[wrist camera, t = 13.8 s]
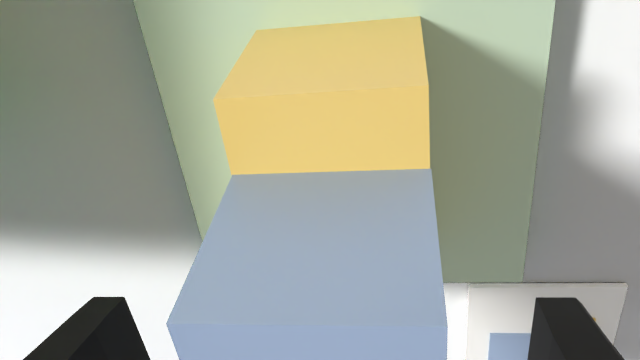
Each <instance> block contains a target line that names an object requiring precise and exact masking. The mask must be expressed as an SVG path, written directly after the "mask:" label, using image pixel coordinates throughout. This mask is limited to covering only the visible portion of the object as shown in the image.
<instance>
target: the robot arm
mask: <svg viewBox="0 0 640 360" xmlns="http://www.w3.org/2000/svg"><path fill="white" fill-rule="evenodd" d="M23 360H150V358H149V356H148V353H147V351H146V348H145V346H144V343H143V341H142V339H141V336H140V334H139V331H138V329H137V327H136V324H135V322H134V319H133V317H132V314H131V312H130V310H129V307H128V305H127V302H126V300H125V298H124V297H93V298H92V299H91V300H90V301H88V302H87V303H86V304H85V305H84V306H82V307H81V308H80V309H79V310H78V311H77V312H75V313H74V314H73V315H72V316H71V317H70V318H69V319H68V320H66V321H65V322H64V323H63V324H62V325H61V326H60V327H59V328H58V329H56V330H55V331H54V332H53V333H52V334H51V335H50V336H49V337H48V338H47V339H45V340H44V341H43V342H42V343H41V344H40V345H39V346H38V347H37V348H36V349H34V350H33V351H32V352H31V353H30V354H29V355H28V356H27V357H25V358H24V359H23ZM527 360H624V359H623V357H622V356H621V355H620V353H619V352H618V351H617V350H616V348H615V347H614V346H613V344H612V343H611V342H610V341H609V339H608V338H607V337H606V335H605V334H604V333H603V331H602V330H601V329H600V327H599V326H598V325H597V323H596V322H595V321H594V319H593V318H592V317H591V315H590V314H589V313H588V311H587V310H586V308H585V307H584V306H583V304H582V303H581V302H580V301H579V300H578V299H577V298H575V297H536V301H535V308H534V315H533V322H532V330H531V337H530V344H529V351H528V359H527Z"/></svg>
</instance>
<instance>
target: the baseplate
mask: <svg viewBox="0 0 640 360" xmlns="http://www.w3.org/2000/svg"><path fill="white" fill-rule="evenodd" d="M555 1H556V0H133V3H134V6H135V10H136V13H137V16H138V20H139V23H140V27H141V30H142V34H143V37H144V41H145V44H146V48H147V51H148V55H149V58H150V62H151V65H152V69H153V72H154V76H155V79H156V82H157V86H158V89H159V93H160V96H161V100H162V103H163V107H164V110H165V114H166V117H167V121H168V124H169V128H170V131H171V135H172V138H173V142H174V145H175V148H176V152H177V155H178V159H179V162H180V166H181V169H182V173H183V176H184V180H185V183H186V187H187V190H188V194H189V197H190V201H191V204H192V208H193V211H194V214H195V218H196V221H197V225H198V228H199V232H200V235H201V239H202V242H203V240H204V238H205V235H206V233H207V231H208V229H209V226H210V224H211V222H212V220H213V217H214V215H215V213H216V211H217V208H218V206H219V204H220V202H221V199H222V197H223V195H224V193H225V190H226V188H227V186H228V184H229V181H230V179H231V177H232V175H231V171H230V167H229V163H228V159H227V155H226V151H225V147H224V143H223V139H222V135H221V130H220V126H219V122H218V118H217V114H216V110H215V106H214V102H213V99H214V97H215V95H216V94H217V92H218V91H219V89H220V87H221V86H222V84H223V83H224V81H225V79H226V78H227V76H228V75H229V73H230V71H231V70H232V68H233V67H234V65H235V63H236V62H237V60H238V59H239V57H240V55H241V54H242V52H243V51H244V49H245V47H246V46H247V44H248V43H249V41H250V39H251V38H252V36H253V35H254V33H255V31H256V30H263V29H275V28H286V27H298V26H310V25H322V24H333V23H345V22H357V21H369V20H381V19H392V18H404V17H416V16H420V19H421V27H422V35H423V43H424V51H425V59H426V67H427V75H428V84H429V133H430V169H431V171H432V181H433V190H434V200H435V210H436V220H437V230H438V239H439V249H440V259H441V269H442V278H443V283H481V282H523V274H524V266H525V257H526V249H527V240H528V232H529V223H530V214H531V206H532V197H533V189H534V180H535V172H536V163H537V155H538V146H539V138H540V129H541V121H542V112H543V104H544V95H545V86H546V78H547V69H548V61H549V52H550V44H551V35H552V27H553V18H554V10H555Z"/></svg>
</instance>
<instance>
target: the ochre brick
mask: <svg viewBox="0 0 640 360" xmlns="http://www.w3.org/2000/svg"><path fill="white" fill-rule="evenodd" d="M213 102H214V106H215V110H216V114H217V118H218V122H219V126H220V130H221V135H222V139H223V143H224V147H225V151H226V155H227V159H228V163H229V167H230V171H231V175H240V174H273V173H306V172H338V171H371V170H404V169H430V133H429V84H428V75H427V67H426V59H425V51H424V43H423V35H422V27H421V19H420V16H416V17H404V18H392V19H381V20H369V21H357V22H345V23H333V24H322V25H310V26H298V27H286V28H275V29H263V30H256V31H255V33H254V35H253V36H252V38H251V39H250V41H249V43H248V44H247V46H246V47H245V49H244V51H243V52H242V54H241V55H240V57H239V59H238V60H237V62H236V63H235V65H234V67H233V68H232V70H231V71H230V73H229V75H228V76H227V78H226V79H225V81H224V83H223V84H222V86H221V87H220V89H219V91H218V92H217V94H216V95H215V97H214V99H213Z"/></svg>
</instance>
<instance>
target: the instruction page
mask: <svg viewBox="0 0 640 360" xmlns="http://www.w3.org/2000/svg"><path fill="white" fill-rule="evenodd" d="M627 290H628V286H627V284H626V283H478V284H468V302H467V324H466V345H465V360H527V359H528V351H529V344H530V337H531V330H532V322H533V315H534V308H535V301H536V297H575V298H577V299H578V300H579V301H580V302H581V303H582V304H583V306H584V307H585V308H586V310H587V311H588V313H589V314H590V315H591V317H592V318H593V319H594V321H595V322H596V323H597V325H598V326H599V327H600V329H601V330H602V331H603V333H604V334H605V335H606V337H607V338H608V339H609V341H610V342H611V343H612V344H614V340H615V337H616V333H617V329H618V325H619V321H620V317H621V313H622V309H623V306H624V302H625V298H626V294H627Z"/></svg>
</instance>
